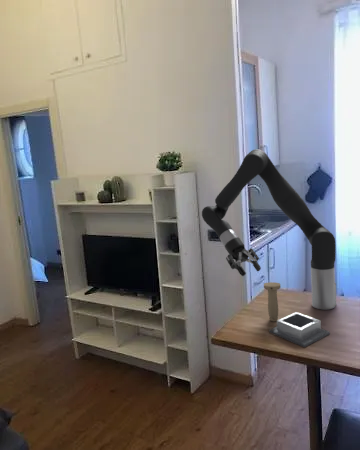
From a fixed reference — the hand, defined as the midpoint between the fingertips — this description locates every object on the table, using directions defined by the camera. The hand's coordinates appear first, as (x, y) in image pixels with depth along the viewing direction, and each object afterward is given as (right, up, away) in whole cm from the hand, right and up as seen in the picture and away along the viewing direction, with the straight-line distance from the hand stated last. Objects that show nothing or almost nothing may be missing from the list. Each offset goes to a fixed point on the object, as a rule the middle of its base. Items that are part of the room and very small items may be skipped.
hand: (251, 272), depth 161 cm
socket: (+14, -20, -18) cm, 31 cm away
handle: (+8, -18, -6) cm, 21 cm away
